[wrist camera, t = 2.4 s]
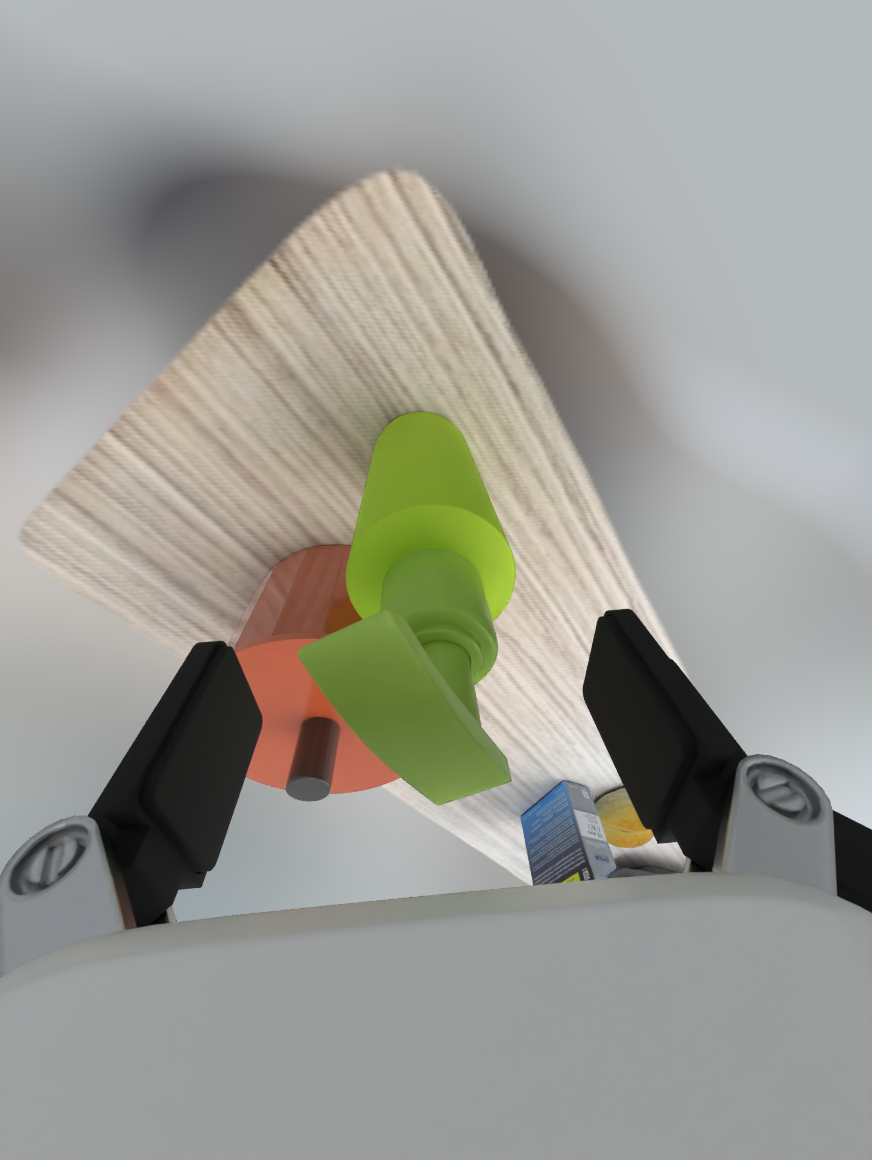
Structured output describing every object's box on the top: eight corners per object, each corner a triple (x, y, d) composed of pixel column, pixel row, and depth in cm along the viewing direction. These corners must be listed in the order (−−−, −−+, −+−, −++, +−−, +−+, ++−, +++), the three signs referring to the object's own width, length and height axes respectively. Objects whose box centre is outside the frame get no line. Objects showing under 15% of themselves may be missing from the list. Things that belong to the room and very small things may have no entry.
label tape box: (543, 821, 51) (576, 950, 41) (516, 815, 50) (544, 946, 40) (589, 786, 47) (638, 919, 37) (561, 778, 46) (604, 913, 36)
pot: (233, 550, 28) (164, 649, 20) (420, 538, 28) (424, 630, 20) (281, 679, 35) (245, 789, 27) (430, 668, 35) (436, 774, 27)
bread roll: (669, 782, 48) (688, 817, 44) (641, 820, 53) (657, 855, 49) (601, 782, 47) (615, 819, 44) (579, 822, 52) (591, 857, 49)
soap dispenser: (433, 373, 22) (509, 575, 6) (484, 481, 26) (619, 795, 9) (343, 426, 24) (192, 715, 7) (403, 521, 27) (397, 862, 11)
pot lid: (156, 634, 20) (97, 711, 16) (434, 614, 20) (440, 686, 17) (242, 785, 28) (216, 862, 24) (443, 769, 28) (449, 843, 24)
